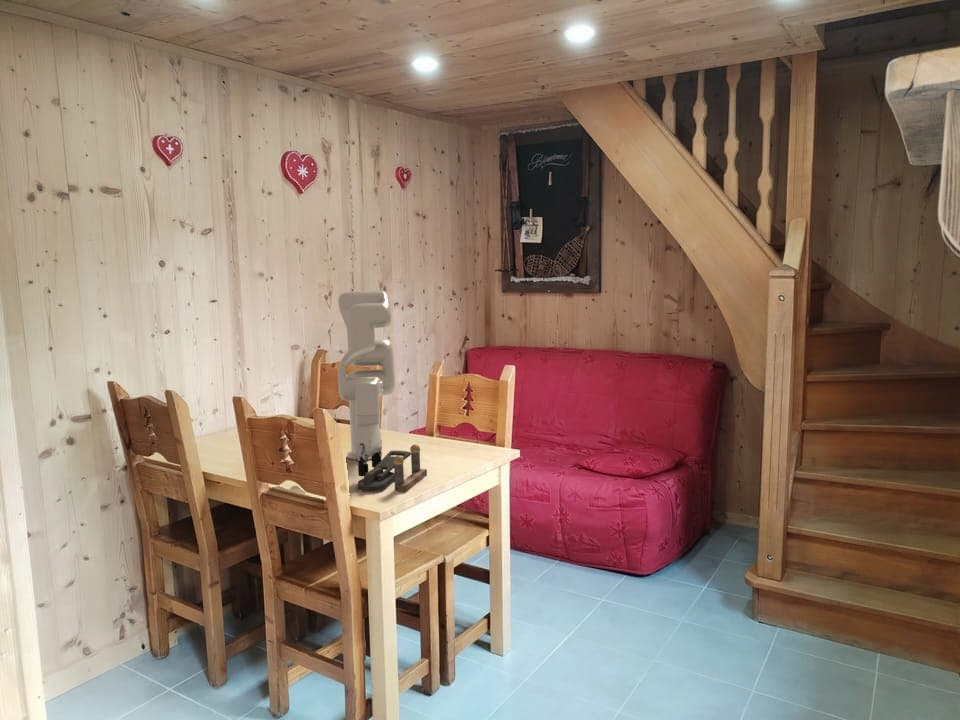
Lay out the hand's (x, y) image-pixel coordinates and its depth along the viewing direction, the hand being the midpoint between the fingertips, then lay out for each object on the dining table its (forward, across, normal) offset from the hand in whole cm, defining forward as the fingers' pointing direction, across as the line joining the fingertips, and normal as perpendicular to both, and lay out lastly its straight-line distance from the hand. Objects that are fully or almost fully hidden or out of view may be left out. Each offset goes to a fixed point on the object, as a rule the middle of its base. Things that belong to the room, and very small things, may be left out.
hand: (370, 471), depth 214 cm
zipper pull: (+3, -1, +5) cm, 6 cm away
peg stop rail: (+3, 0, +13) cm, 13 cm away
